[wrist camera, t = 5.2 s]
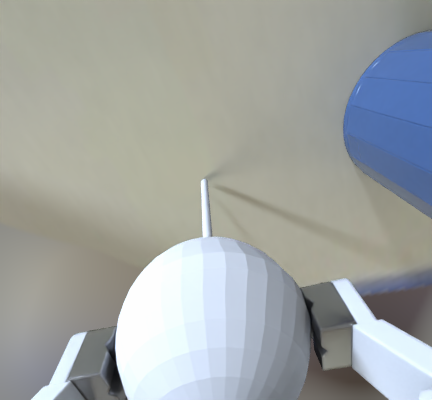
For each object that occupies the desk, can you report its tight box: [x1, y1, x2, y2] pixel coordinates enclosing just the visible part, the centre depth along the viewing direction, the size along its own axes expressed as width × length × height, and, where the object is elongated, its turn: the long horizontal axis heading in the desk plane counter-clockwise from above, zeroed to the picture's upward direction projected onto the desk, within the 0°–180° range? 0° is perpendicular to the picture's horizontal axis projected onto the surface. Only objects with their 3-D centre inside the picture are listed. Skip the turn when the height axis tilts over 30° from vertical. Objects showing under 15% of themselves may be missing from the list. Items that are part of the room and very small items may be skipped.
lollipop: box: [115, 179, 311, 400], centre depth 13 cm, size 6×6×15 cm
